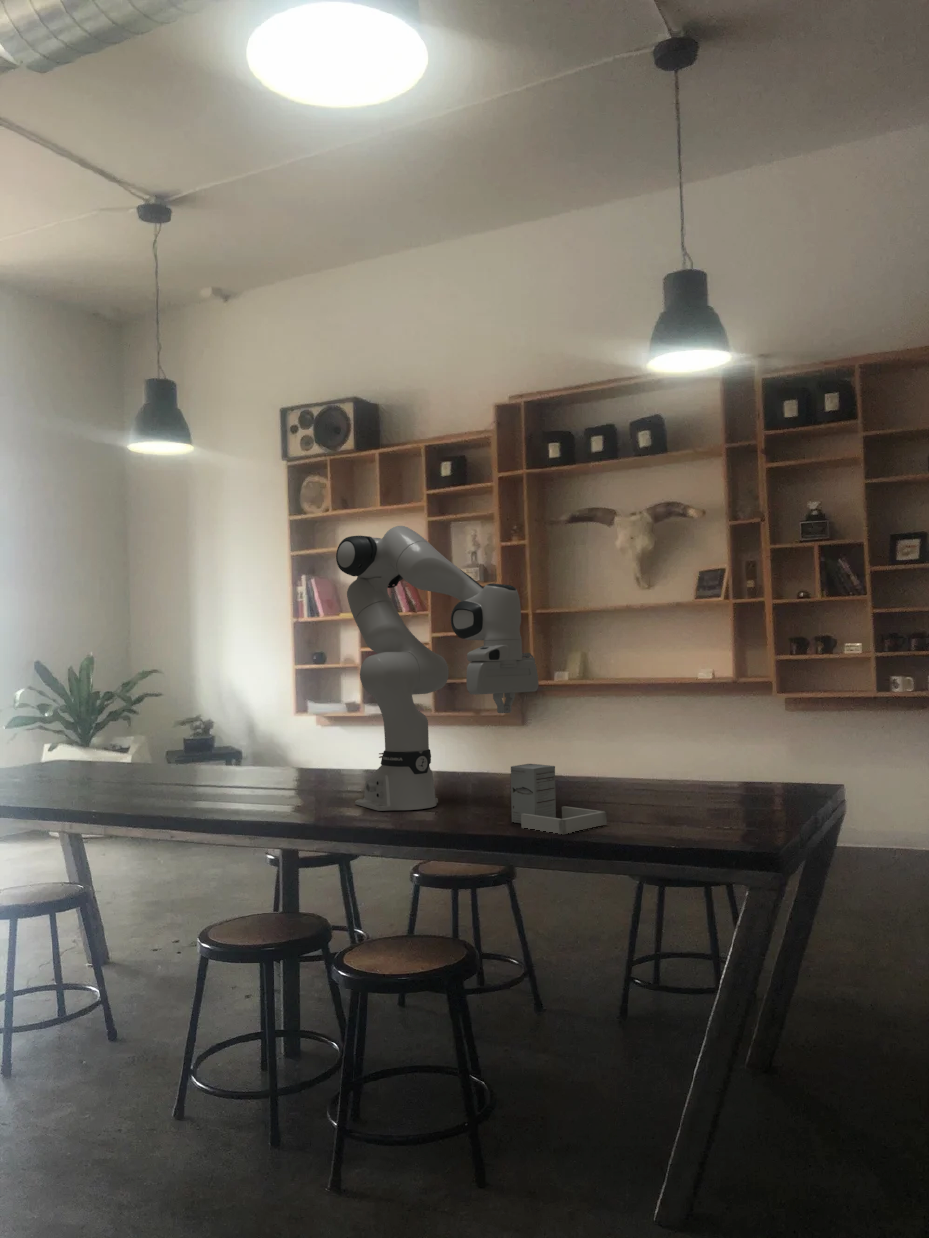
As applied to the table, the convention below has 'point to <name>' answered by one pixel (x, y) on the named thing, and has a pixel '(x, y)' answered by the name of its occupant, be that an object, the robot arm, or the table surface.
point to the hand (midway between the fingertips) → (504, 712)
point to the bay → (565, 820)
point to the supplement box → (532, 791)
